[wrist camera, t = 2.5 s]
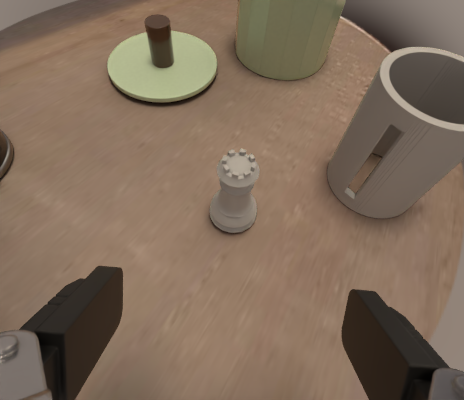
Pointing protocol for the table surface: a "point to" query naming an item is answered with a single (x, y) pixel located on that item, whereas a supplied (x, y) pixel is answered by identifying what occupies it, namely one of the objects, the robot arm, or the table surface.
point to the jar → (285, 35)
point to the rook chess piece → (235, 192)
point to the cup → (403, 132)
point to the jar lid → (162, 63)
